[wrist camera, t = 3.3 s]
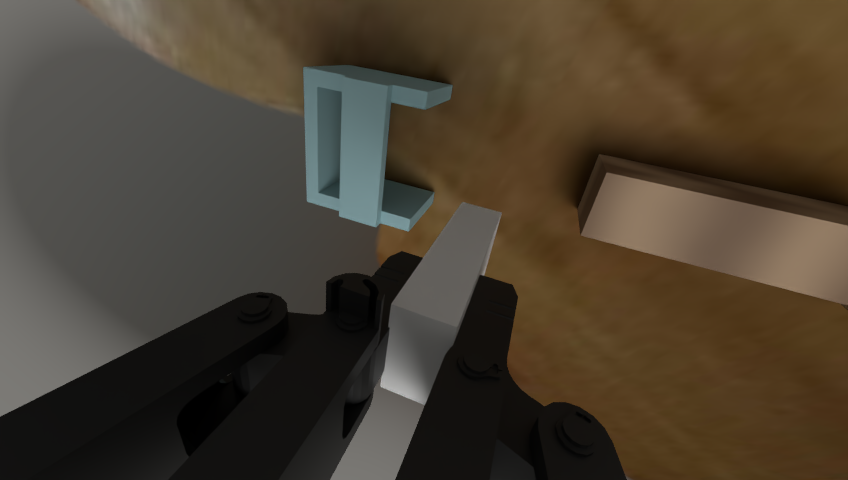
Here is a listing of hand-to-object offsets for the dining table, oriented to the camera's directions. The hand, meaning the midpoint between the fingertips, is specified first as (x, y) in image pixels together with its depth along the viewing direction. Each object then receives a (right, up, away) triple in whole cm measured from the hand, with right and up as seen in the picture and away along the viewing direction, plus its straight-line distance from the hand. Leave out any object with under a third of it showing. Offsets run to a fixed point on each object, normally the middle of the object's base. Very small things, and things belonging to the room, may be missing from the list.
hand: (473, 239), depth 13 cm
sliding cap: (-4, +7, +10) cm, 12 cm away
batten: (+13, +2, +6) cm, 15 cm away
